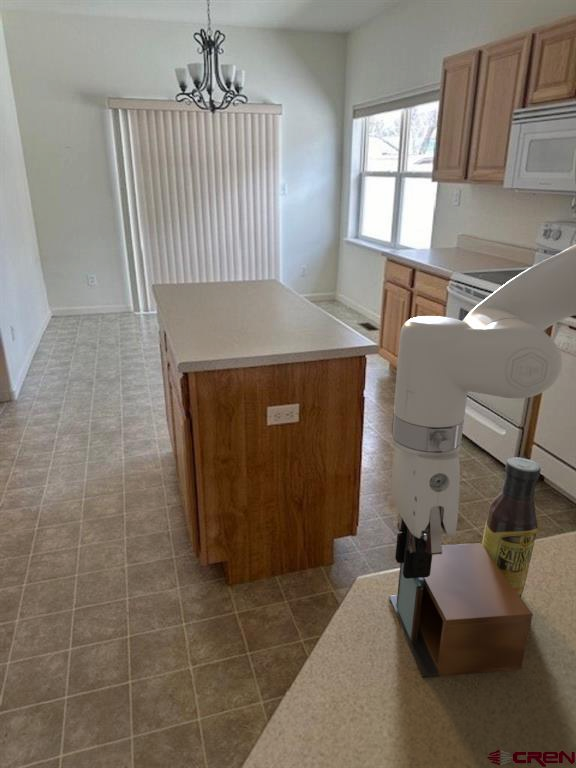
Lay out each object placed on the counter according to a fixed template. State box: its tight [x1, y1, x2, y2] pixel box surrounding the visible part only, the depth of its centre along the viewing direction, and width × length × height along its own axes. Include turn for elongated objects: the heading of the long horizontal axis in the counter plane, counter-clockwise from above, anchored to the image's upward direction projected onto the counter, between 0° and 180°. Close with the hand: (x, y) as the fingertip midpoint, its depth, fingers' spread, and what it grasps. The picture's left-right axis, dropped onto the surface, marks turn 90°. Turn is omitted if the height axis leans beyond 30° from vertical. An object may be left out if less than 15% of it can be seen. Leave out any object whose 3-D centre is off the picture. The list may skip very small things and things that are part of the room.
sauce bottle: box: [481, 457, 541, 598], centre depth 71 cm, size 6×6×20 cm
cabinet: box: [388, 542, 533, 679], centre depth 66 cm, size 12×13×8 cm
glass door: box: [396, 529, 425, 644], centre depth 65 cm, size 2×6×14 cm, turn 6°
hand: (412, 567), depth 65 cm, fingers closed on glass door, 2 cm apart
